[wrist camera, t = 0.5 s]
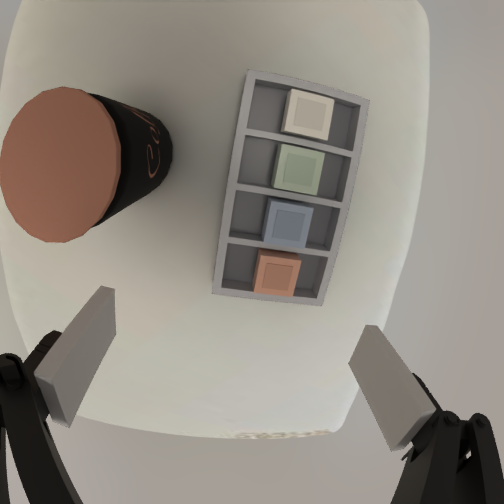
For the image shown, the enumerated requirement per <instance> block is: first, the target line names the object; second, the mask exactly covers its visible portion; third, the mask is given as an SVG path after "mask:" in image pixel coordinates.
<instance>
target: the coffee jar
mask: <svg viewBox="0 0 504 504" xmlns="http://www.w3.org/2000/svg"><path fill="white" fill-rule="evenodd" d="M171 162H172V143H171V139H170V136H169V132H168V131H167V129H166V128H165V126H164V125H163V124H162V122H161V121H160V120H158V119H157V118H156V117H154V116H153V115H151V114H150V113H147V112H145V111H142V110H139V109H137V108H134V107H131V106H129V105H126V104H123V103H120V102H117V101H115V100H112V99H109V98H106V97H103V96H100V95H96V94H91V93H86V92H85V91H83V90H80V89H74V88H68V87H59V88H55V89H51V90H47V91H43V92H42V93H40V94H39V95H37V96H36V97H34V98H33V99H31V100H30V101H29V102H27V103H26V104H25V105H24V106H23V108H22V109H21V110H20V111H19V113H18V114H17V115H16V116H15V118H14V119H13V120H12V122H11V125H10V127H9V129H8V131H7V134H6V136H5V138H4V141H3V146H2V151H1V156H0V185H1V189H2V193H3V196H4V200H5V203H6V206H7V207H8V209H9V211H10V213H11V214H12V216H13V218H14V219H15V221H16V222H17V223H18V224H19V225H20V226H21V227H22V228H23V229H24V230H25V231H26V232H27V233H28V234H29V235H31V236H33V237H36V238H38V239H40V240H42V241H45V242H62V243H65V242H68V241H70V240H73V239H75V238H78V237H80V236H83V235H84V234H85V233H86V232H87V231H88V230H89V229H90V228H92V227H95V226H97V225H99V224H101V223H102V222H104V221H105V220H107V219H109V218H110V217H112V216H113V215H115V214H116V213H118V212H119V211H121V210H123V209H124V208H126V207H127V206H129V205H131V204H132V203H134V202H136V201H137V200H139V199H141V198H142V197H144V196H146V195H147V194H149V193H150V192H151V191H153V190H154V189H155V188H157V187H158V186H159V185H160V184H161V182H162V181H163V179H164V178H165V177H166V175H167V174H168V171H169V168H170V165H171Z"/></svg>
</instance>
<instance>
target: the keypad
mask: <svg viewBox="0 0 504 504" xmlns="http://www.w3.org/2000/svg"><path fill="white" fill-rule="evenodd" d="M291 89H296V90H300V91H304V92H308V93H312V94H316V95H320V96H324V97H327V98H331V99H334V106H333V112H332V118H331V124H330V129H329V135H328V140H326V141H320V140H316V139H311V138H307V137H303V136H298V135H294V134H289V133H284V132H281V127H282V121H283V116H284V110H285V105H286V99H287V93H288V92H289V91H290V90H291ZM369 101H370V100H368V99H365V98H362V97H359V96H356V95H353V94H350V93H347V92H344V91H341V90H337V89H334V88H331V87H327V86H324V85H320V84H316V83H312V82H309V81H305V80H300V79H296V78H292V77H287V76H283V75H278V74H273V73H268V72H263V71H257V70H251V69H248V70H247V75H246V80H245V86H244V91H243V96H242V101H241V107H240V112H239V118H238V123H237V129H236V135H235V140H234V146H233V152H232V158H231V164H230V170H229V176H228V182H227V189H226V195H225V202H224V208H223V215H222V222H221V228H220V235H219V242H218V249H217V257H216V264H215V272H214V279H213V287H212V294H216V295H224V296H232V297H240V298H248V299H257V300H266V301H275V302H284V303H294V304H304V305H315V306H322V304H323V301H324V298H325V295H326V291H327V288H328V285H329V281H330V278H331V274H332V271H333V267H334V264H335V260H336V257H337V253H338V249H339V245H340V242H341V238H342V234H343V230H344V226H345V222H346V218H347V214H348V210H349V205H350V201H351V197H352V192H353V188H354V183H355V178H356V174H357V169H358V164H359V159H360V154H361V149H362V143H363V138H364V132H365V126H366V120H367V114H368V107H369ZM278 144H285V145H290V146H295V147H300V148H305V149H309V150H313V151H318V152H322V153H325V156H324V161H323V166H322V171H321V176H320V181H319V186H318V191H317V195H311V194H305V193H300V192H295V191H289V190H284V189H278V188H274V187H273V186H272V185H271V181H272V176H273V170H274V165H275V159H276V154H277V149H278ZM268 197H271V198H277V199H283V200H288V201H294V202H299V203H305V204H309V205H310V206H311V207H312V208H314V209H313V214H312V218H311V223H310V227H309V232H308V236H307V240H306V245H305V249H300V248H294V247H287V246H280V245H273V244H266V243H263V241H262V237H261V235H262V229H263V224H264V219H265V213H266V208H267V203H268ZM259 248H263V249H270V250H277V251H284V252H292V253H297V254H298V256H299V257H300V259H301V265H300V269H299V273H298V277H297V281H296V285H295V289H294V293H293V297H287V296H278V295H269V294H260V293H254V292H253V285H252V282H253V277H254V272H255V267H256V261H257V256H258V251H259Z"/></svg>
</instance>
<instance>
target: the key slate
mask: <svg viewBox="0 0 504 504" xmlns="http://www.w3.org/2000/svg"><path fill="white" fill-rule="evenodd" d="M313 209H314V208H312V207H311V206H310V205H309V204H305V203H299V202H294V201H288V200H283V199H277V198H271V197H268V203H267V208H266V213H265V219H264V224H263V229H262V235H261V237H262V241H263V243H266V244H273V245H280V246H287V247H294V248H300V249H305V245H306V240H307V236H308V232H309V227H310V223H311V218H312V214H313Z"/></svg>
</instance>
